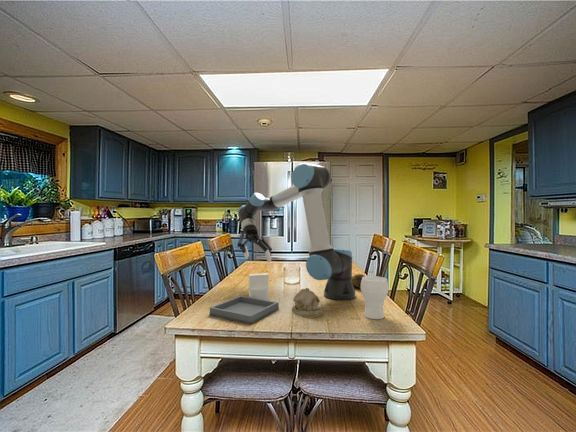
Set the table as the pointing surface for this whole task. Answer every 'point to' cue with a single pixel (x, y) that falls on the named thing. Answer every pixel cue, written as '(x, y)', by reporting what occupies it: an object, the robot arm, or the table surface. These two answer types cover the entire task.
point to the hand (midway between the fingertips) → (258, 259)
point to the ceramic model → (306, 304)
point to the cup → (374, 295)
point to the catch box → (244, 309)
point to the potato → (357, 280)
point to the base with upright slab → (258, 286)
